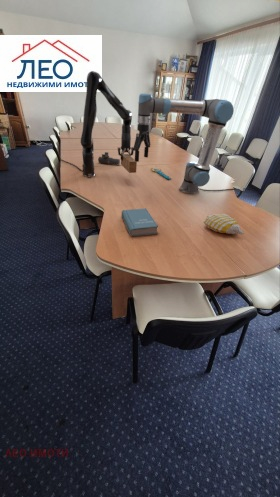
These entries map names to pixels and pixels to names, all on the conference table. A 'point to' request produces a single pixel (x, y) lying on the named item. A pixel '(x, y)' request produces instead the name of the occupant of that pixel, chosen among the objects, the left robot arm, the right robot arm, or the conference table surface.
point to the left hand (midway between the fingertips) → (125, 160)
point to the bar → (129, 163)
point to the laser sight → (108, 159)
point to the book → (139, 222)
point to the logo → (160, 173)
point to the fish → (223, 224)
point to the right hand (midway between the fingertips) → (141, 159)
